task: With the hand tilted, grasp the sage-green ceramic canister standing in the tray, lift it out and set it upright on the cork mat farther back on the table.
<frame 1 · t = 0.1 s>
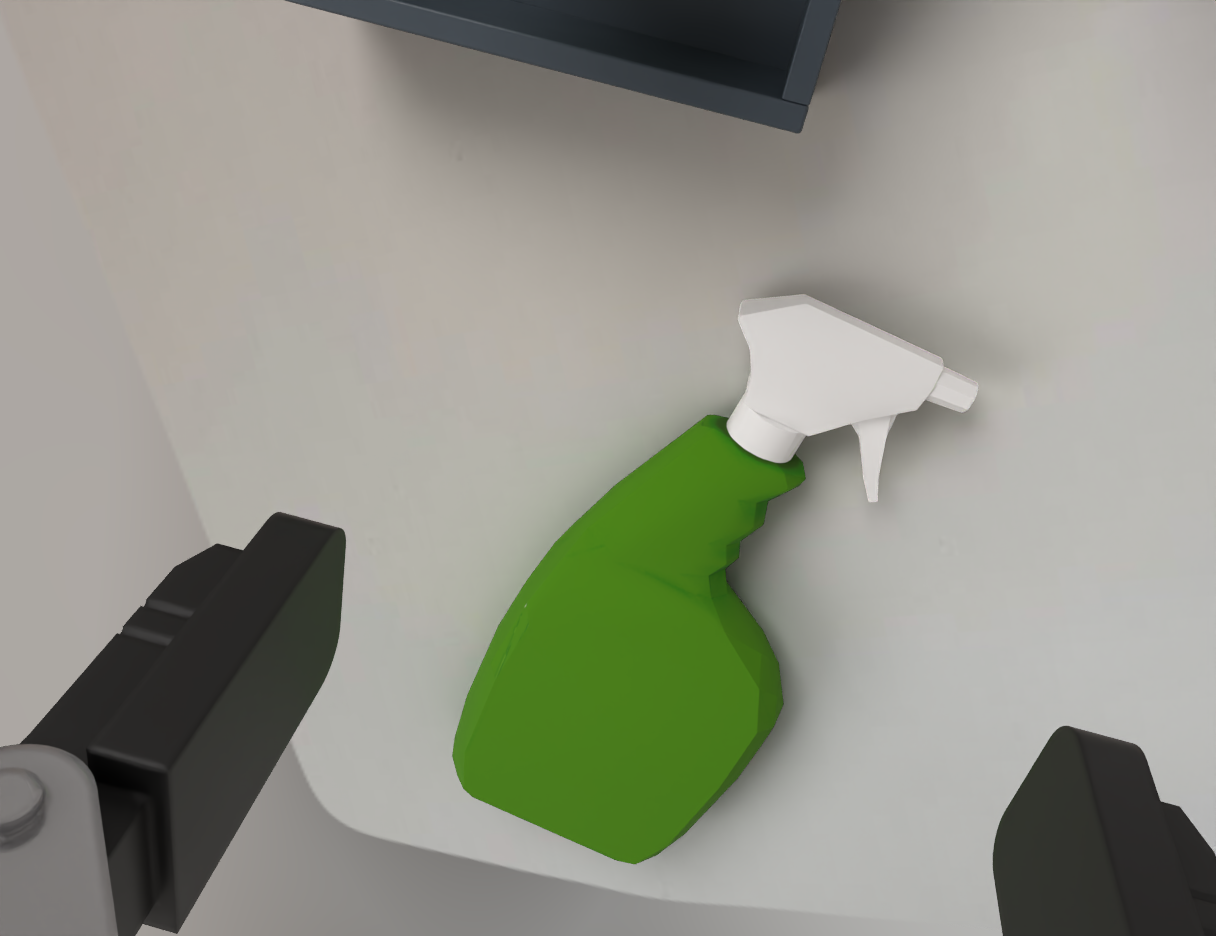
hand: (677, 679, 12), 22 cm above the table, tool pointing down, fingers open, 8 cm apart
spray bottle: (686, 581, 39), on the table
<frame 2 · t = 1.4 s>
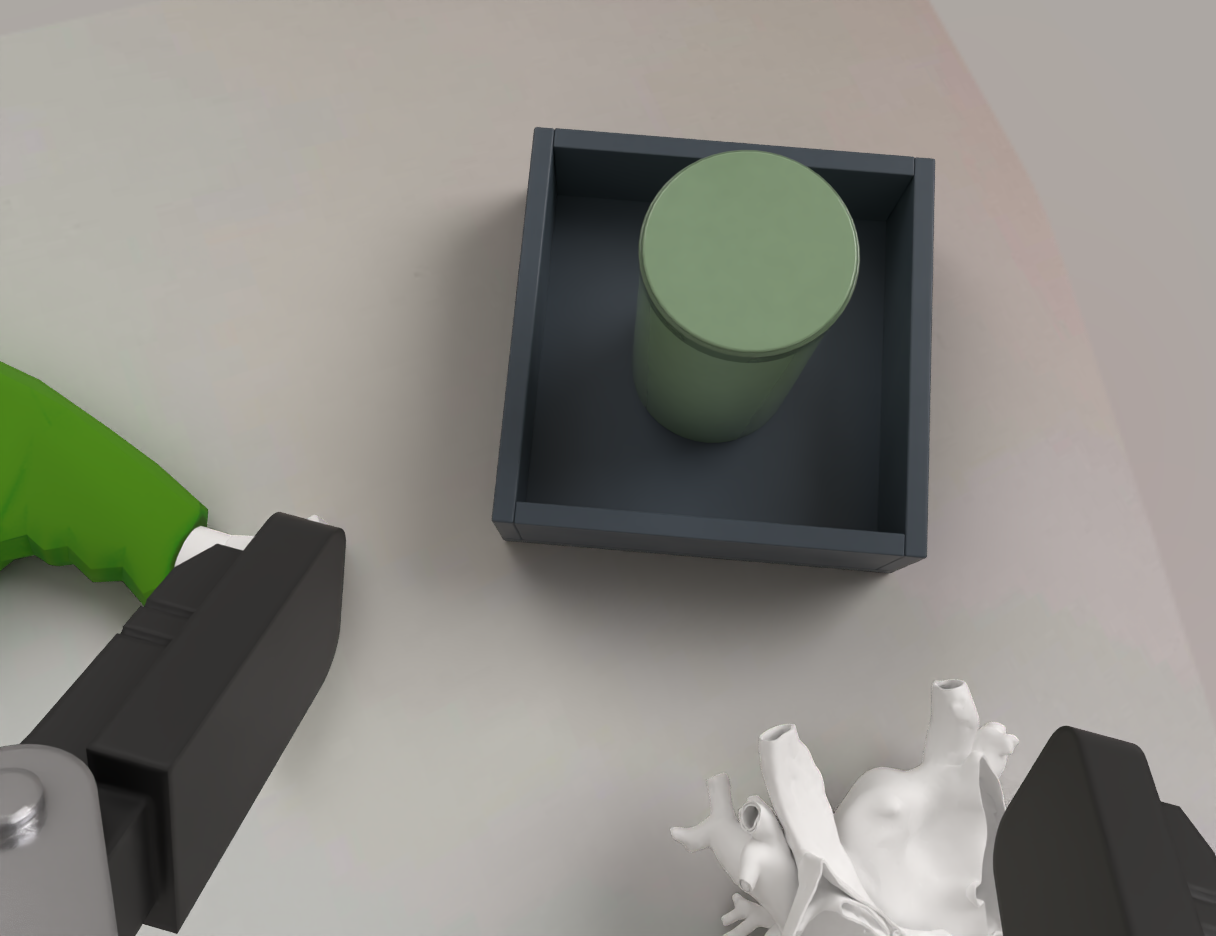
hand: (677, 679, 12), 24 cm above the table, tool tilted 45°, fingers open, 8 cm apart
canister: (711, 365, 37), point 1 cm above the table, touching tray
tray: (709, 371, 38), on the table
heart: (859, 887, 35), on the table
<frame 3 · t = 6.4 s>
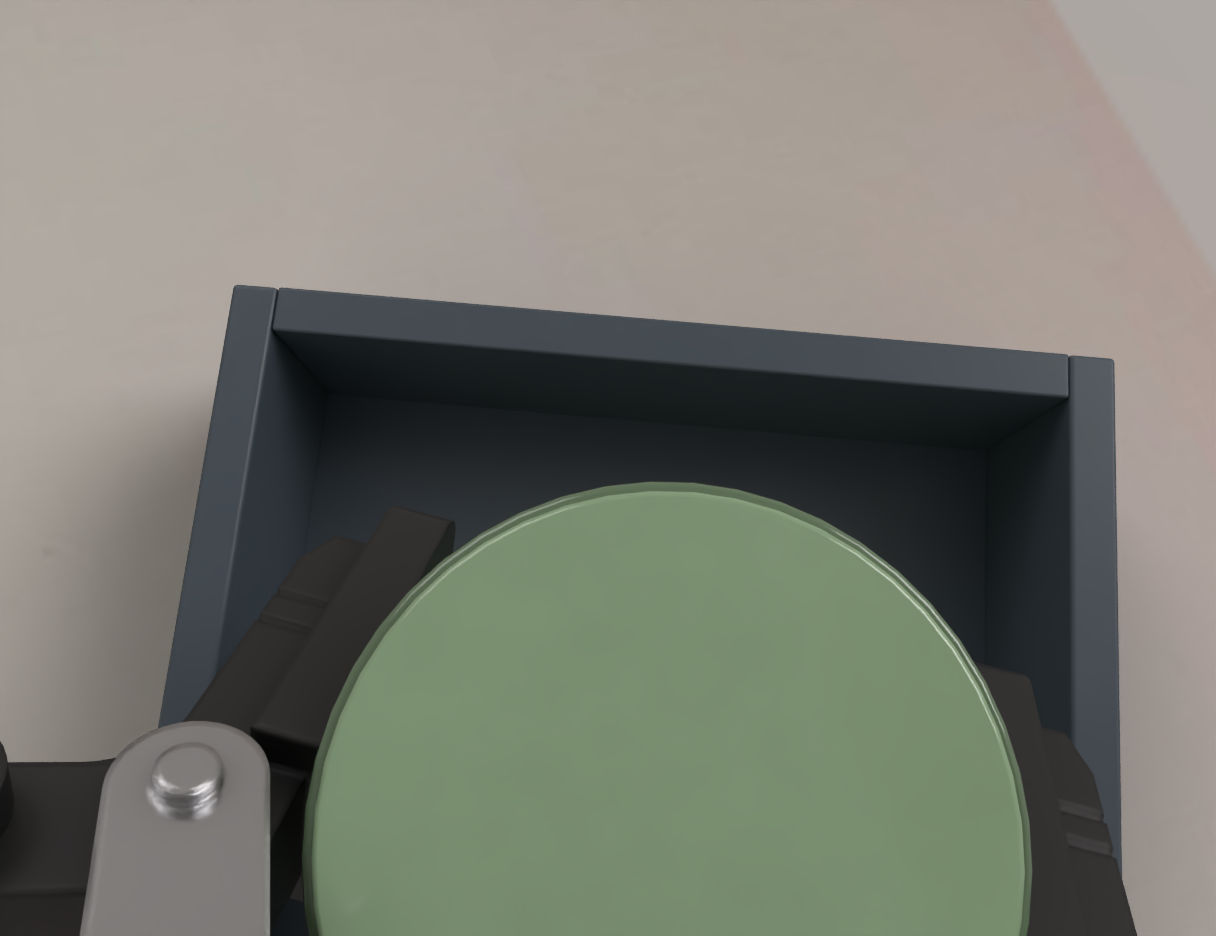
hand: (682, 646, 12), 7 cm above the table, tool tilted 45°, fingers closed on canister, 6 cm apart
canister: (629, 763, 18), point 1 cm above the table, touching tray, gripper
tray: (628, 761, 19), on the table
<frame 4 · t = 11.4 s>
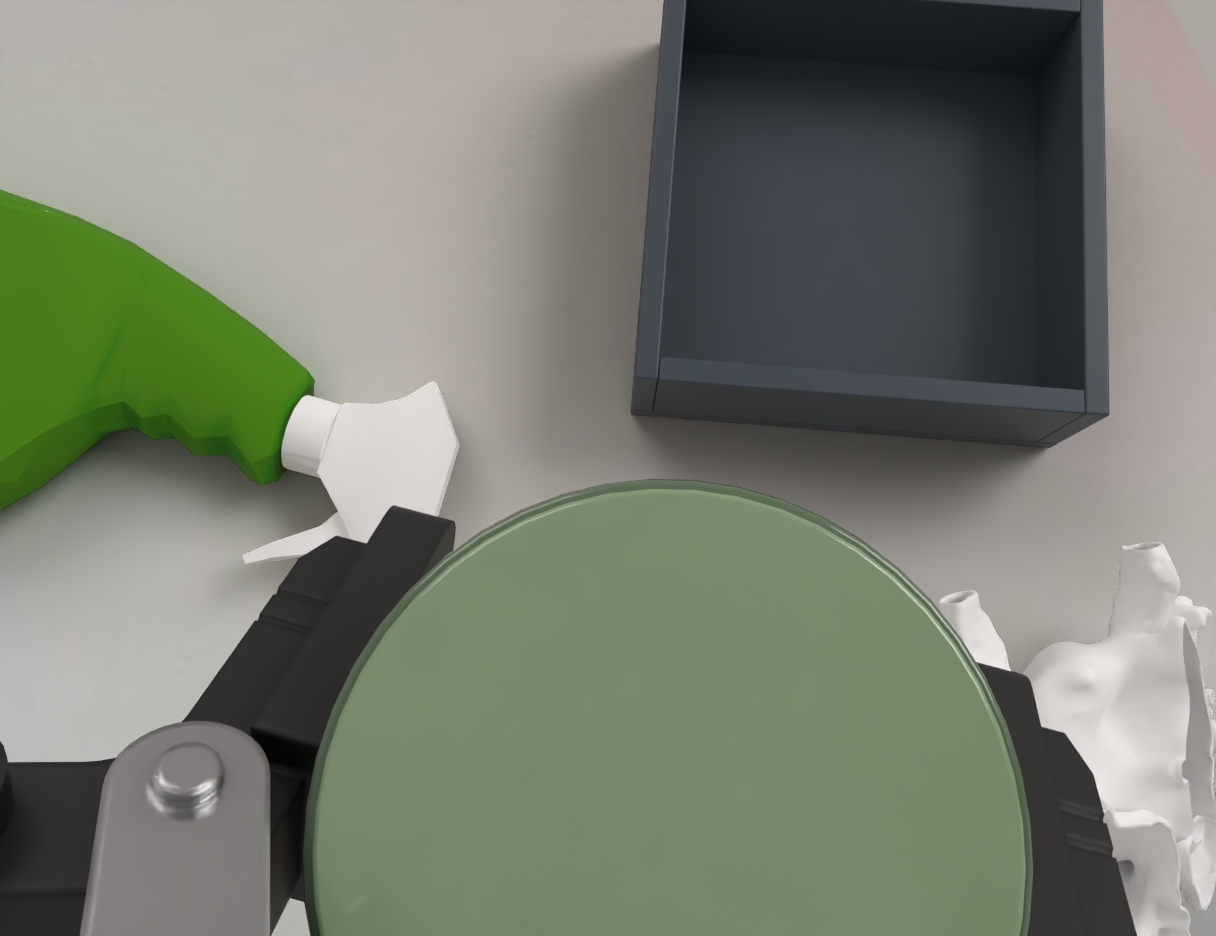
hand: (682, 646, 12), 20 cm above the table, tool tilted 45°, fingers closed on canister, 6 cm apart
canister: (630, 762, 18), point 14 cm above the table, touching gripper
spray bottle: (88, 401, 34), on the table
tray: (847, 236, 35), on the table
heart: (1025, 781, 32), on the table
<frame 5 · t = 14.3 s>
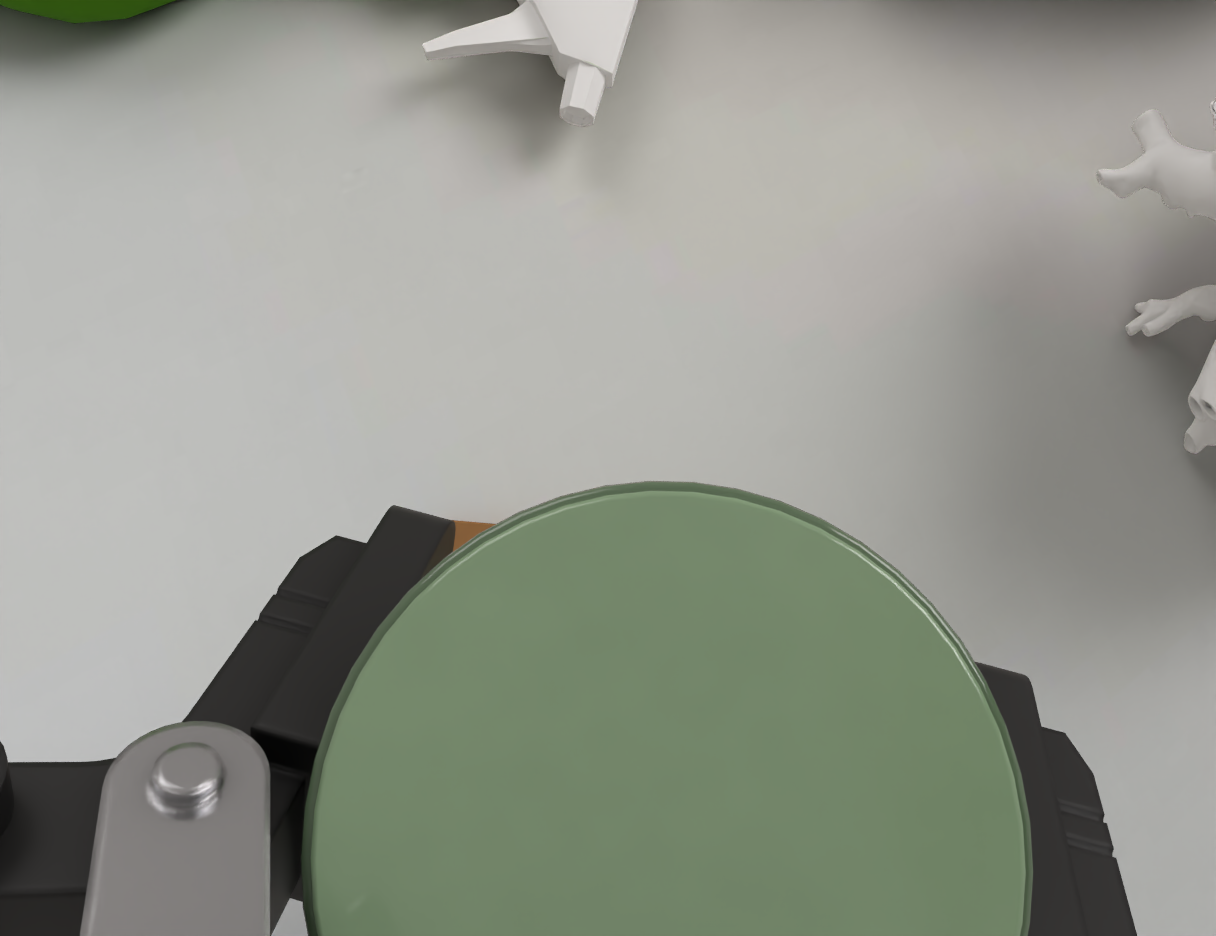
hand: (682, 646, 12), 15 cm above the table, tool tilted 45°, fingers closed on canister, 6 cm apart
canister: (629, 763, 18), point 8 cm above the table, touching gripper
cork mat: (620, 738, 26), on the table
when the fingers open (7 cm above the table, at t = 16.7 s): canister stays where it is, resting on cork mat.
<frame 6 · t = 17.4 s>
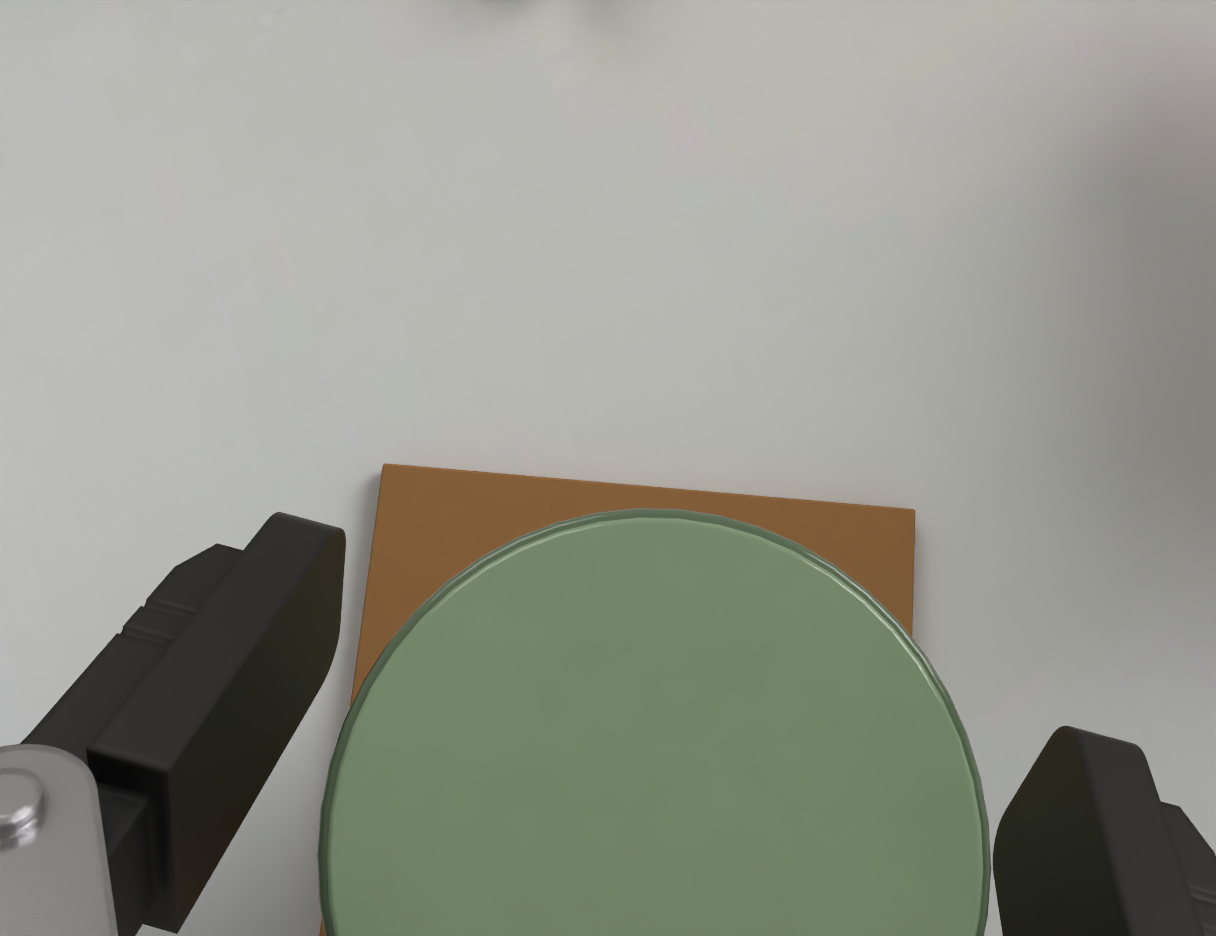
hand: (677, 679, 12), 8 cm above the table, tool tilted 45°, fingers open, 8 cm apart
canister: (625, 766, 19), resting on cork mat
cork mat: (626, 760, 19), on the table
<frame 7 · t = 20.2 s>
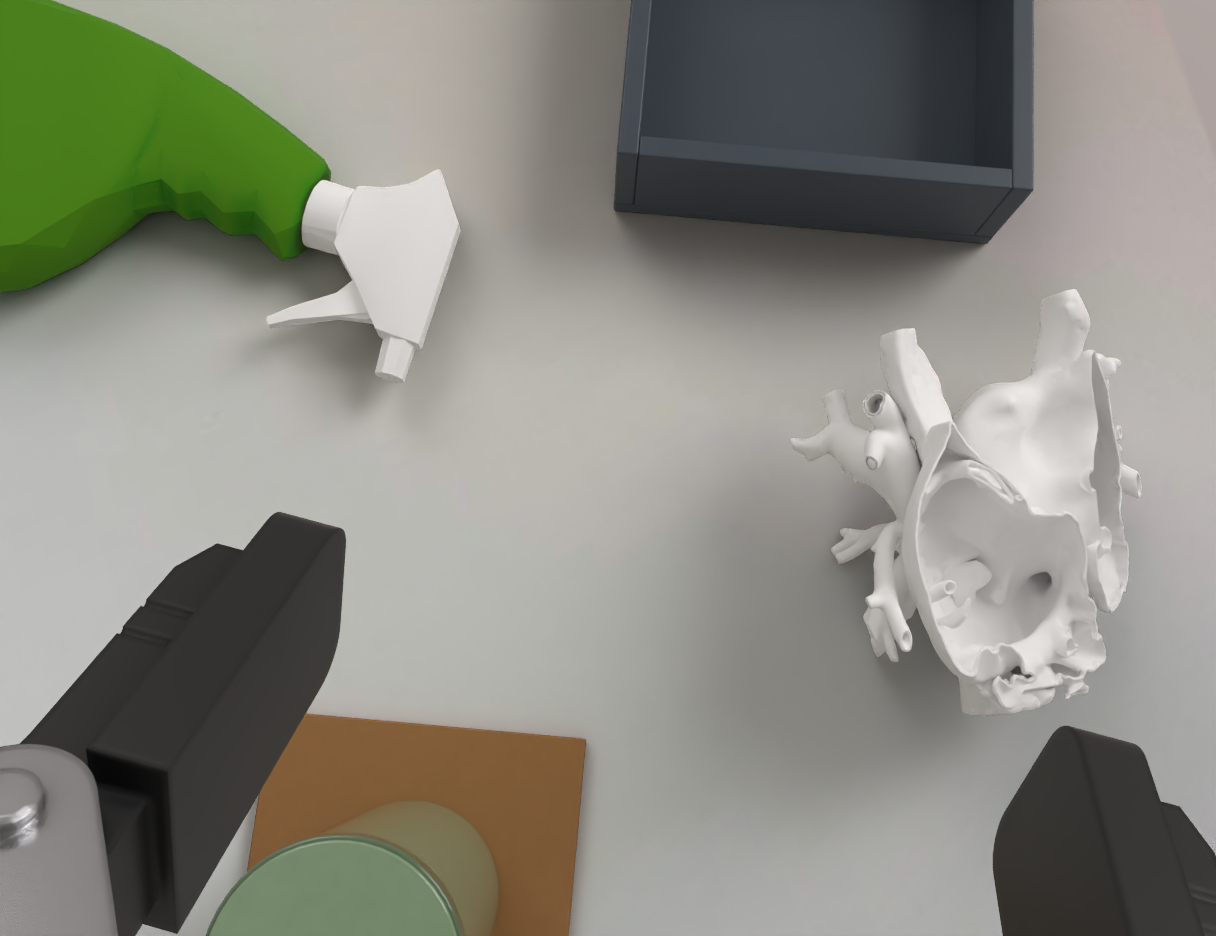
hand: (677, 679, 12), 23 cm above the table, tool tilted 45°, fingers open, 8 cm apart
canister: (407, 895, 32), resting on cork mat
spray bottle: (125, 193, 38), on the table
cork mat: (410, 890, 33), on the table
tray: (809, 61, 39), on the table
heart: (961, 527, 36), on the table
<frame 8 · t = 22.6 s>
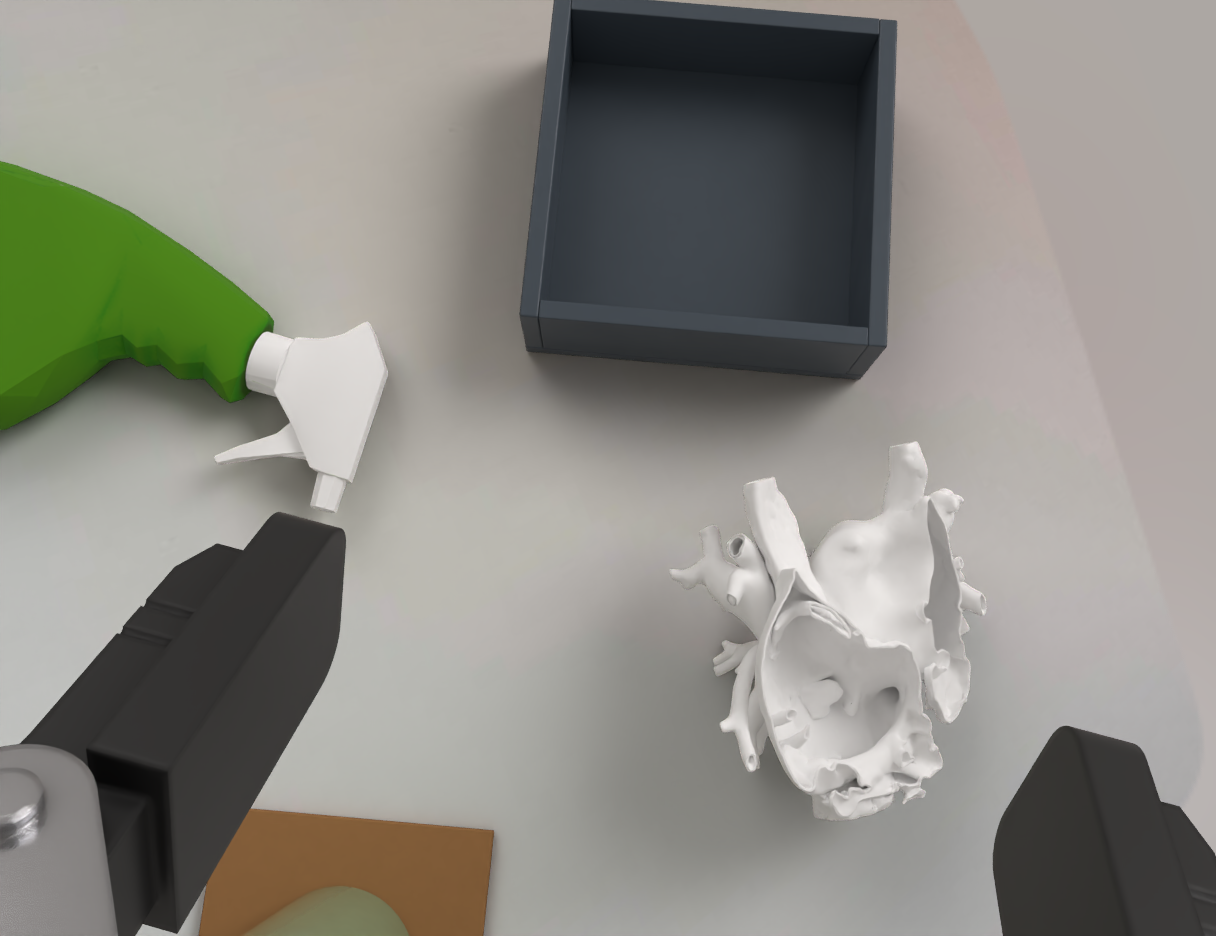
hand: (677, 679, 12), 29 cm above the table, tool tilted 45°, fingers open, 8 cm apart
spray bottle: (93, 338, 43), on the table
tray: (704, 211, 44), on the table
heart: (830, 638, 41), on the table
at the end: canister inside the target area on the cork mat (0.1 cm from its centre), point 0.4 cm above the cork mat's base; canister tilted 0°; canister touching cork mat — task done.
